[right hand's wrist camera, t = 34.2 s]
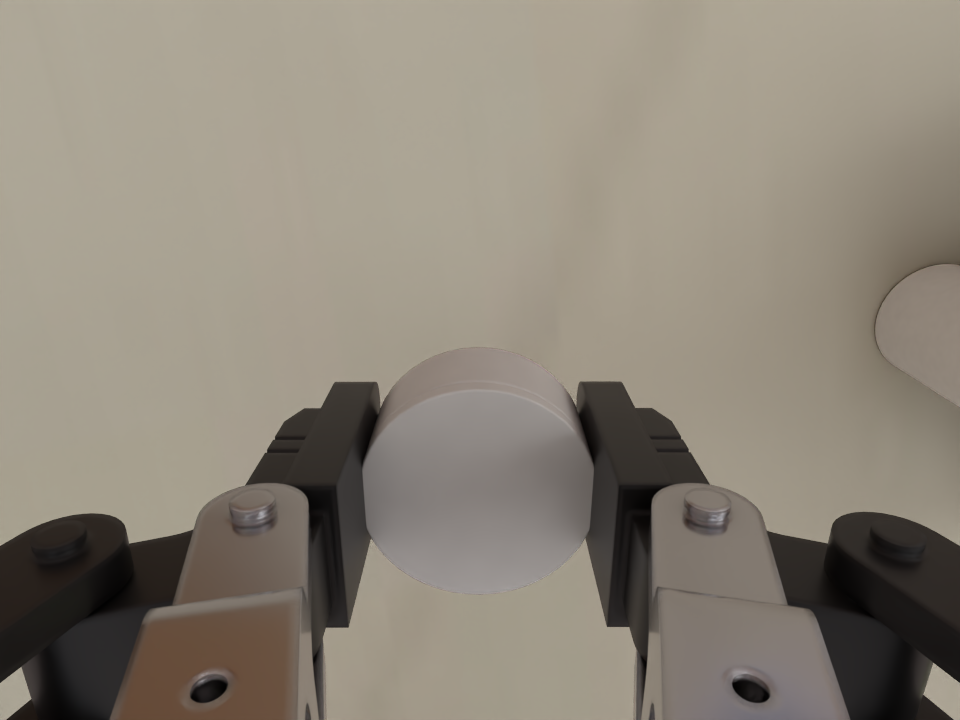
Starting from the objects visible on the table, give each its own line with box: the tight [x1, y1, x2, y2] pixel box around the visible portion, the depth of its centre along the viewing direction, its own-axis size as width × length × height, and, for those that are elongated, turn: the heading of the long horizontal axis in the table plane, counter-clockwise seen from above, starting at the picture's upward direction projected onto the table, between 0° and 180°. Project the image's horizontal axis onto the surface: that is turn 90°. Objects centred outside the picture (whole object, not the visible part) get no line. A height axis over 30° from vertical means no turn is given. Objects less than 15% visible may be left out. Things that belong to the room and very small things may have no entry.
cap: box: [362, 347, 594, 595], centre depth 11 cm, size 4×4×2 cm
